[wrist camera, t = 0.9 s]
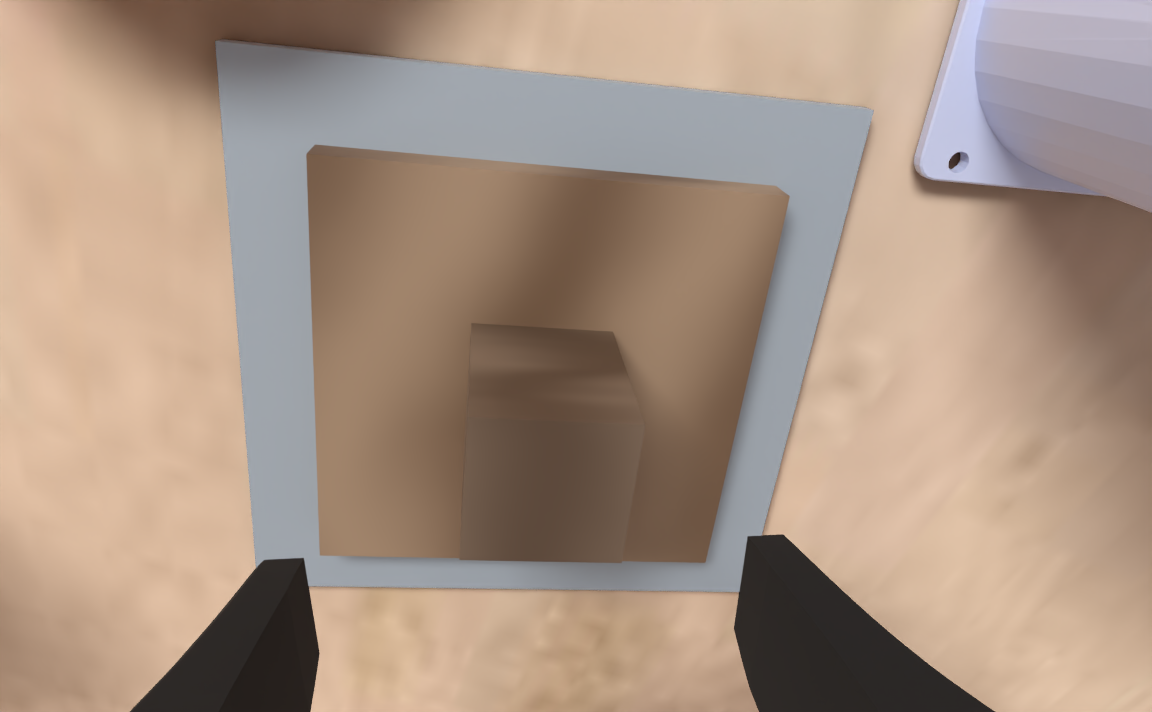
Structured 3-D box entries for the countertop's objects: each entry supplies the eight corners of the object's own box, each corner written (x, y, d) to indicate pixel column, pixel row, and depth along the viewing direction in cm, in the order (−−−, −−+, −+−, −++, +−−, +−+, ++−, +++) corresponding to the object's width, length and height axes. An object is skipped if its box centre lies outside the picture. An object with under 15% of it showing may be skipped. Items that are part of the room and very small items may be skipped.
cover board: (776, 185, 20) (872, 259, 15) (697, 540, 24) (750, 686, 19) (314, 144, 18) (252, 211, 13) (326, 532, 23) (283, 687, 18)
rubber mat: (864, 107, 20) (873, 110, 19) (741, 581, 26) (746, 591, 26) (221, 38, 17) (215, 41, 17) (261, 573, 24) (257, 585, 23)
